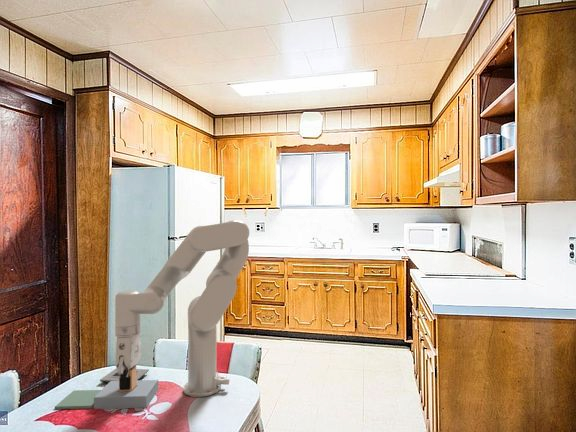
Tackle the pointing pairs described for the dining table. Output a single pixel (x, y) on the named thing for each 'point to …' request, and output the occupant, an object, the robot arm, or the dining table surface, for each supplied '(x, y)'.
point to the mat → (78, 400)
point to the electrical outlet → (115, 376)
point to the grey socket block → (126, 395)
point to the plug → (132, 378)
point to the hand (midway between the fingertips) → (127, 385)
